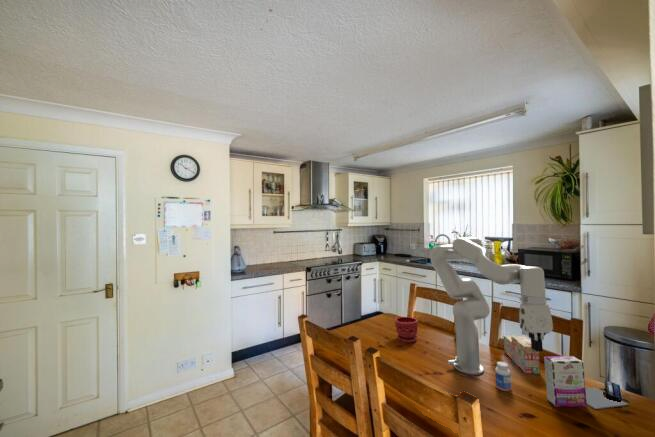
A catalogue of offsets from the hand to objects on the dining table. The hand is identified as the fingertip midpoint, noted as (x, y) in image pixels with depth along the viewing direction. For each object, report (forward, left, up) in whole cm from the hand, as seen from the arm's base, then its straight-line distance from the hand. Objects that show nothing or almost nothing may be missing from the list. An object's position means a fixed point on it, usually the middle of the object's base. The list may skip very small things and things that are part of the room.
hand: (537, 349), depth 103 cm
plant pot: (-22, +68, -21) cm, 75 cm away
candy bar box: (+11, 0, -21) cm, 24 cm away
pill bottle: (-4, +13, -21) cm, 25 cm away
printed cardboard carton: (+21, +31, -21) cm, 43 cm away
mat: (+25, +1, -21) cm, 32 cm away
